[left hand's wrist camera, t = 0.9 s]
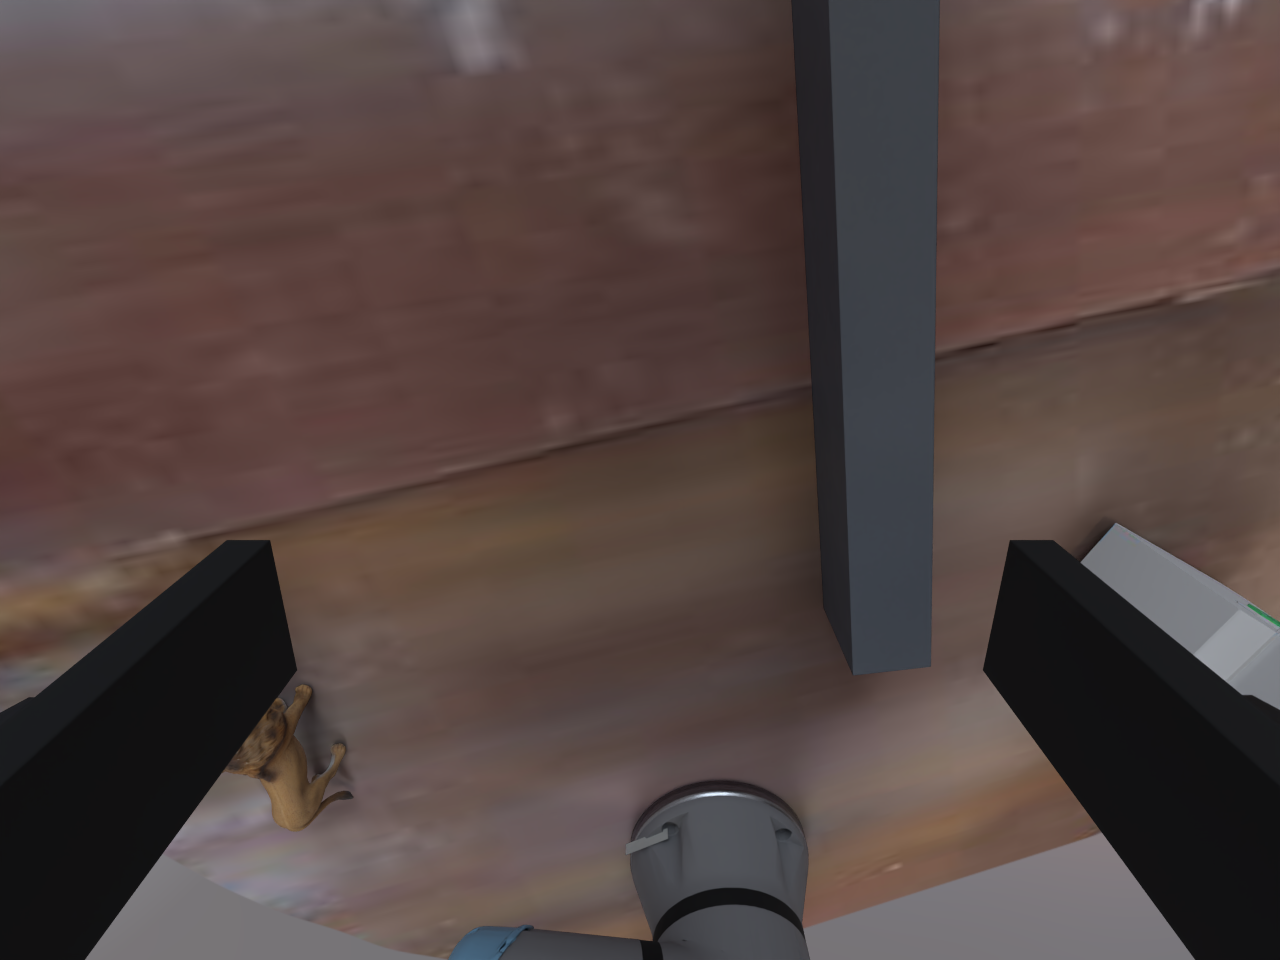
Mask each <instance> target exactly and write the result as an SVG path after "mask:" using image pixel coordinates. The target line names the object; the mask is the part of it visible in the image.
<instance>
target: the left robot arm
mask: <svg viewBox="0 0 1280 960" xmlns="http://www.w3.org/2000/svg"><path fill="white" fill-rule="evenodd" d="M296 671H297V667H296V663H295V658H294V653H293V648H292V643H291V639H290V634H289V629H288V624H287V619H286V615H285V610H284V605H283V600H282V595H281V591H280V586H279V581H278V576H277V571H276V567H275V562H274V557H273V552H272V547H271V542H270V540H227V541H225V542H224V543H223V544H222V545H220V546H219V547H218V548H217V549H216V550H214V551H213V552H212V553H211V554H209V555H208V556H207V557H206V558H205V559H203V560H202V561H201V562H200V563H198V564H197V565H196V566H195V567H194V568H192V569H191V570H190V571H189V572H187V573H186V574H185V575H184V576H183V577H181V578H180V579H179V580H178V581H176V582H175V583H174V584H173V585H172V586H170V587H169V588H168V589H167V590H165V591H164V592H163V593H162V594H161V595H159V596H158V597H157V598H156V599H154V600H153V601H152V602H151V603H150V604H148V605H147V606H146V607H145V608H143V609H142V610H141V611H140V612H139V613H137V614H136V615H135V616H134V617H132V618H131V619H130V620H129V621H128V622H126V623H125V624H124V625H123V626H121V627H120V628H119V629H118V630H117V631H115V632H114V633H113V634H112V635H110V636H109V637H108V638H107V639H105V640H104V641H103V642H102V643H101V644H99V645H98V646H97V647H96V648H94V649H93V650H92V651H91V652H90V653H88V654H87V655H86V656H85V657H83V658H82V659H81V660H80V661H79V662H77V663H76V664H75V665H74V666H72V667H71V668H70V669H69V670H68V671H66V672H65V673H64V674H63V675H61V676H60V677H59V678H58V679H57V680H55V681H54V682H53V683H52V684H50V685H49V686H48V687H47V688H46V689H44V690H43V691H42V692H41V693H39V694H38V695H37V696H36V697H29V698H27V699H25V700H23V701H21V702H19V703H18V704H16V705H14V706H12V707H10V708H8V709H6V710H5V711H3V712H1V713H0V960H85V959H86V957H87V956H88V955H89V953H90V952H91V951H92V949H93V948H94V946H95V945H96V944H97V942H98V941H99V940H100V938H101V937H102V936H103V934H104V933H105V931H106V930H107V929H108V927H109V926H110V925H111V923H112V922H113V920H114V919H115V918H116V916H117V915H118V914H119V912H120V911H121V909H122V908H123V907H124V906H125V904H126V903H127V901H128V900H129V899H130V897H131V896H132V895H133V893H134V892H135V891H136V889H137V888H138V886H139V885H140V884H141V882H142V881H143V880H144V878H145V877H146V875H147V874H148V873H149V871H150V870H151V869H152V867H153V866H154V865H155V863H156V862H157V860H158V859H159V858H160V856H161V855H162V854H163V852H164V851H165V850H166V848H167V847H168V845H169V844H170V843H171V841H172V840H173V839H174V837H175V836H176V835H177V833H178V832H179V830H180V829H181V828H182V826H183V825H184V824H185V822H186V821H187V820H188V818H189V817H190V815H191V814H192V813H193V811H194V810H195V809H196V807H197V806H198V805H199V803H200V802H201V800H202V799H203V798H204V796H205V795H206V794H207V792H208V791H209V790H210V788H211V787H212V785H213V784H214V783H215V781H216V780H217V779H218V777H219V776H220V775H221V773H222V772H223V770H224V769H225V768H226V766H227V765H228V764H229V762H230V761H231V760H232V758H233V757H234V755H235V754H236V753H237V751H238V750H239V749H240V747H241V746H242V745H243V743H244V742H245V740H246V739H247V738H248V736H249V735H250V734H251V732H252V731H253V730H254V728H255V727H256V725H257V724H258V723H259V721H260V720H261V719H262V717H263V716H264V715H265V713H266V712H267V710H268V709H269V708H270V706H271V705H272V704H273V702H274V701H275V700H276V698H277V697H278V695H279V694H280V693H281V691H282V690H283V689H284V687H285V686H286V685H287V683H288V682H289V680H290V679H291V678H292V676H293V675H294V674H295V672H296ZM983 671H984V672H985V674H986V675H987V676H988V678H989V679H990V680H991V682H992V683H993V685H994V686H995V687H996V689H997V690H998V691H999V693H1000V694H1001V695H1002V697H1003V698H1004V700H1005V701H1006V702H1007V704H1008V705H1009V706H1010V708H1011V709H1012V710H1013V712H1014V713H1015V715H1016V716H1017V717H1018V719H1019V720H1020V721H1021V723H1022V724H1023V725H1024V727H1025V728H1026V730H1027V731H1028V732H1029V734H1030V735H1031V736H1032V738H1033V739H1034V740H1035V742H1036V743H1037V745H1038V746H1039V747H1040V749H1041V750H1042V751H1043V753H1044V754H1045V755H1046V757H1047V758H1048V760H1049V761H1050V762H1051V764H1052V765H1053V766H1054V768H1055V769H1056V770H1057V772H1058V773H1059V775H1060V776H1061V777H1062V779H1063V780H1064V781H1065V783H1066V784H1067V785H1068V787H1069V788H1070V790H1071V791H1072V792H1073V794H1074V795H1075V796H1076V798H1077V799H1078V800H1079V802H1080V803H1081V805H1082V806H1083V807H1084V809H1085V810H1086V811H1087V813H1088V814H1089V815H1090V817H1091V818H1092V820H1093V821H1094V822H1095V824H1096V825H1097V826H1098V828H1099V829H1100V830H1101V832H1102V833H1103V835H1104V836H1105V837H1106V839H1107V840H1108V841H1109V843H1110V844H1111V845H1112V847H1113V848H1114V849H1115V851H1116V852H1117V854H1118V855H1119V856H1120V858H1121V859H1122V860H1123V862H1124V863H1125V865H1126V866H1127V867H1128V869H1129V870H1130V871H1131V873H1132V874H1133V875H1134V877H1135V878H1136V880H1137V881H1138V882H1139V884H1140V885H1141V886H1142V888H1143V889H1144V890H1145V892H1146V893H1147V895H1148V896H1149V897H1150V899H1151V900H1152V901H1153V903H1154V904H1155V906H1156V907H1157V908H1158V910H1159V911H1160V912H1161V914H1162V915H1163V916H1164V918H1165V919H1166V921H1167V922H1168V923H1169V925H1170V926H1171V927H1172V929H1173V930H1174V931H1175V933H1176V934H1177V936H1178V937H1179V938H1180V940H1181V941H1182V942H1183V944H1184V945H1185V946H1186V948H1187V949H1188V951H1189V952H1190V953H1191V955H1192V956H1193V957H1194V959H1195V960H1280V710H1279V709H1277V708H1276V707H1274V706H1272V705H1270V704H1268V703H1266V702H1264V701H1262V700H1261V699H1259V698H1257V697H1255V696H1253V695H1242V694H1241V693H1239V692H1238V691H1237V690H1236V689H1234V688H1233V687H1232V686H1231V685H1230V684H1228V683H1227V682H1226V681H1225V680H1223V679H1222V678H1221V677H1220V676H1219V675H1217V674H1216V673H1215V672H1214V671H1212V670H1211V669H1210V668H1209V667H1208V666H1206V665H1205V664H1204V663H1203V662H1201V661H1200V660H1199V659H1198V658H1197V657H1195V656H1194V655H1193V654H1192V653H1190V652H1189V651H1188V650H1187V649H1186V648H1184V647H1183V646H1182V645H1181V644H1179V643H1178V642H1177V641H1176V640H1175V639H1173V638H1172V637H1171V636H1170V635H1168V634H1167V633H1166V632H1165V631H1163V630H1162V629H1161V628H1160V627H1159V626H1157V625H1156V624H1155V623H1154V622H1152V621H1151V620H1150V619H1149V618H1148V617H1146V616H1145V615H1144V614H1143V613H1141V612H1140V611H1139V610H1138V609H1137V608H1135V607H1134V606H1133V605H1132V604H1130V603H1129V602H1128V601H1127V600H1126V599H1124V598H1123V597H1122V596H1121V595H1119V594H1118V593H1117V592H1116V591H1115V590H1113V589H1112V588H1111V587H1110V586H1108V585H1107V584H1106V583H1105V582H1104V581H1102V580H1101V579H1100V578H1099V577H1097V576H1096V575H1095V574H1094V573H1093V572H1091V571H1090V570H1089V569H1088V568H1086V567H1085V566H1084V565H1083V564H1082V563H1080V562H1079V561H1078V560H1077V559H1075V558H1074V557H1073V556H1072V555H1071V554H1069V553H1068V552H1067V551H1066V550H1064V549H1063V548H1062V547H1061V546H1060V545H1058V544H1057V543H1056V542H1055V541H1053V540H1010V542H1009V547H1008V552H1007V557H1006V562H1005V567H1004V571H1003V576H1002V581H1001V586H1000V591H999V595H998V600H997V605H996V610H995V615H994V619H993V624H992V629H991V634H990V639H989V643H988V648H987V653H986V658H985V663H984V667H983ZM630 853H631V857H630V865H631V872H632V876H633V881H634V884H635V887H636V890H637V893H638V895H639V898H640V901H641V904H642V907H643V910H644V912H645V915H646V918H647V921H648V924H649V927H650V929H651V932H652V935H653V941H645V940H638V939H628V938H619V937H609V936H599V935H589V934H579V933H569V932H559V931H549V930H540V929H534V927H533V926H532V925H522V926H520V927H518V928H515V927H495V926H483V927H478V928H475V929H473V930H472V931H471V932H469V933H468V934H466V935H465V936H464V937H463V938H462V940H461V941H459V942H458V944H457V945H456V947H455V948H454V950H453V952H452V953H451V955H450V957H449V959H448V960H810V957H809V953H808V949H807V945H806V940H805V936H804V931H803V926H802V918H803V909H804V901H805V892H806V883H807V874H808V848H807V844H806V840H805V836H804V832H803V828H802V825H801V823H800V821H799V819H798V817H797V815H796V814H795V813H794V811H793V810H792V809H791V808H790V807H789V806H788V805H787V804H786V803H785V802H784V801H783V800H782V799H780V798H779V797H777V796H776V795H774V794H772V793H771V792H769V791H767V790H764V789H762V788H760V787H757V786H754V785H750V784H746V783H741V782H734V781H708V782H700V783H696V784H691V785H688V786H685V787H682V788H679V789H677V790H674V791H672V792H670V793H668V794H666V795H665V796H663V797H661V798H660V799H659V800H657V801H656V802H654V803H653V804H652V805H651V806H650V807H649V808H648V809H647V810H646V811H645V812H644V813H643V815H642V816H641V817H640V819H639V820H638V822H637V824H636V826H635V828H634V831H633V834H632V838H631V843H628V844H626V855H628V854H630Z"/></svg>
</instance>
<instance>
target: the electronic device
mask: <svg viewBox="0 0 1280 960" xmlns="http://www.w3.org/2000/svg"><path fill="white" fill-rule="evenodd" d="M1080 563H1082V564H1083V565H1084V566H1085V567H1086V568H1088V569H1089V570H1090V571H1091V572H1093V573H1094V574H1095V575H1096V576H1097V577H1099V578H1100V579H1101V580H1102V581H1104V582H1105V583H1106V584H1107V585H1108V586H1110V587H1111V588H1112V589H1113V590H1115V591H1116V592H1117V593H1118V594H1119V595H1121V596H1122V597H1123V598H1124V599H1126V600H1127V601H1128V602H1129V603H1130V604H1132V605H1133V606H1134V607H1135V608H1137V609H1138V610H1139V611H1140V612H1141V613H1143V614H1144V615H1145V616H1146V617H1148V618H1149V619H1150V620H1151V621H1152V622H1154V623H1155V624H1156V625H1157V626H1159V627H1160V628H1161V629H1162V630H1163V631H1165V632H1166V633H1167V634H1168V635H1170V636H1171V637H1172V638H1173V639H1175V640H1176V641H1177V642H1178V643H1179V644H1181V645H1182V646H1183V647H1184V648H1186V649H1187V650H1188V651H1189V652H1190V653H1192V654H1193V655H1194V656H1195V657H1197V658H1198V659H1199V660H1200V661H1201V662H1203V663H1204V664H1205V665H1206V666H1208V667H1209V668H1210V669H1211V670H1212V671H1214V672H1215V673H1216V674H1217V675H1219V676H1220V677H1221V678H1222V679H1223V680H1225V681H1226V682H1227V683H1228V684H1230V685H1231V686H1232V687H1233V688H1234V689H1236V690H1237V691H1238V692H1239V693H1241V694H1242V695H1253V696H1255V697H1257V698H1259V699H1261V700H1262V701H1264V702H1266V703H1268V704H1270V705H1272V706H1274V707H1276V708H1277V709H1279V710H1280V622H1279V621H1277V620H1276V619H1274V618H1273V617H1271V616H1270V615H1268V614H1267V613H1265V612H1264V611H1263V610H1261V609H1260V608H1258V607H1257V606H1255V605H1254V604H1252V603H1251V602H1249V601H1248V600H1246V599H1245V598H1243V597H1242V596H1240V595H1239V594H1237V593H1236V592H1234V591H1232V590H1231V589H1229V588H1228V587H1226V586H1224V585H1223V584H1221V583H1220V582H1218V581H1216V580H1214V579H1213V578H1211V577H1209V576H1208V575H1206V574H1204V573H1202V572H1201V571H1199V570H1197V569H1195V568H1194V567H1192V566H1190V565H1188V564H1187V563H1185V562H1183V561H1182V560H1180V559H1178V558H1176V557H1175V556H1173V555H1171V554H1169V553H1168V552H1166V551H1164V550H1163V549H1161V548H1159V547H1157V546H1156V545H1154V544H1152V543H1150V542H1149V541H1147V540H1145V539H1144V538H1142V537H1140V536H1138V535H1137V534H1135V533H1133V532H1131V531H1130V530H1128V529H1126V528H1124V527H1123V526H1121V525H1119V524H1118V523H1115V524H1114V525H1113V526H1112V527H1111V529H1110V530H1109V531H1108V532H1107V533H1106V534H1105V535H1104V537H1103V538H1102V539H1101V540H1100V541H1099V542H1098V543H1097V544H1096V546H1095V547H1094V548H1093V549H1092V550H1091V551H1090V552H1089V553H1088V555H1087V556H1086V557H1085V558H1084V559H1083V560H1082V561H1081V562H1080Z"/></svg>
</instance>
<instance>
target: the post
mask: <svg viewBox="0 0 1280 960" xmlns="http://www.w3.org/2000/svg"><path fill="white" fill-rule="evenodd" d="M939 5H940V0H792V18H793V36H794V55H795V74H796V93H797V112H798V131H799V150H800V169H801V188H802V207H803V226H804V245H805V264H806V283H807V302H808V321H809V340H810V359H811V378H812V397H813V416H814V434H815V453H816V472H817V491H818V510H819V529H820V548H821V567H822V586H823V605H824V610H825V612H826V615H827V617H828V619H829V621H830V624H831V626H832V628H833V631H834V633H835V635H836V637H837V640H838V642H839V644H840V647H841V649H842V651H843V654H844V656H845V658H846V660H847V663H848V665H849V667H850V670H851V672H852V674H853V675H861V674H870V673H879V672H888V671H896V670H905V669H914V668H923V667H931V613H932V537H933V461H934V385H935V309H936V233H937V157H938V81H939Z"/></svg>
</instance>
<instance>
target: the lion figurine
mask: <svg viewBox="0 0 1280 960" xmlns="http://www.w3.org/2000/svg"><path fill="white" fill-rule="evenodd" d="M295 691H296V695H295V697H294V702H293V704H292V705H291V706H290V707H289V708H288V709H287V705H286V704H285V702H284V701H283V700H282V699H281V698H276V700H275V701H274V702H273V704H272V705H271V706H270V708H269V709H268V710H267V712H266V713H265V715H264V716H263V717H262V719H261V720H260V721H259V723H258V724H257V725H256V727H255V728H254V730H253V731H252V732H251V734H250V735H249V736H248V738H247V739H246V740H245V742H244V743H243V745H242V746H241V747H240V749H239V750H238V751H237V753H236V754H235V755H234V757H233V758H232V760H231V761H230V762H229V764H228V765H227V766H226V768H225V769H224V770H223V772H225V771H226V772H229V773H233V774H243V775H248V776H249V777H252V778H258V779H260V781H261V783H262V785H263V786H264V787H265V789H266V790H267V792H268V794H269V796H270V799H271V803H272V816H273V819H274V821H275V822H276V823H277V824H278V825H279V826H281V827H283V828H287V829H289V830H290V831H301V830H303V829H304V828H306V827H307V826H308V825H309V824H310V823H311V822H312V821H313V820H314V819H315V818H316V817H317V816H318V814H319V813H320V812H321V811H322V810H323V809H324V808H325V807H326V806H327V805H329V804H330V803H331V802H333V801H335V800H338V799H342V800H346V799H352V798H353V796H352V794H351V793H350V792H349V791H341V792H337V793H335V794H334V795H332V796H330V797H328V798H327V799H325V800H324V801H323V802H322V803H321V801H322V798H323V795H324V792H325V788H326V787H327V785H328V782H329V781H330V779H332V778H333V777H334V776H335V774H336V772H337V769H338V767H339V764H340V762H341V760H342V758H343V756H344V754H345V751H346V747H345V746H344V745H343V744H341V743H338V744H334V745H332V747H331V750H330V751H331V755H332V759H331V763H330V765H329V767H328V768H327V770H326V771H325V772H324V773H323V774H321V775H320V774H316V775H315V776H313V778H312V782H311V783H309V782H308V779H307V760H306V755H305V752H304V750H303V748H302V746H301V744H300V743H299V741H298V740H297V739H296V738H295V737H294V735H293V734H294V732H295V729H296V725H297V723H298V720H299V718H300V716H301V714H302V712H303V710H304V708H305V706H306V704H307V703H308V701H309V699H310V697H311V694H312V689H311V687H309V686H307V685H300V686H298V687H296V689H295ZM223 772H222V773H223Z"/></svg>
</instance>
